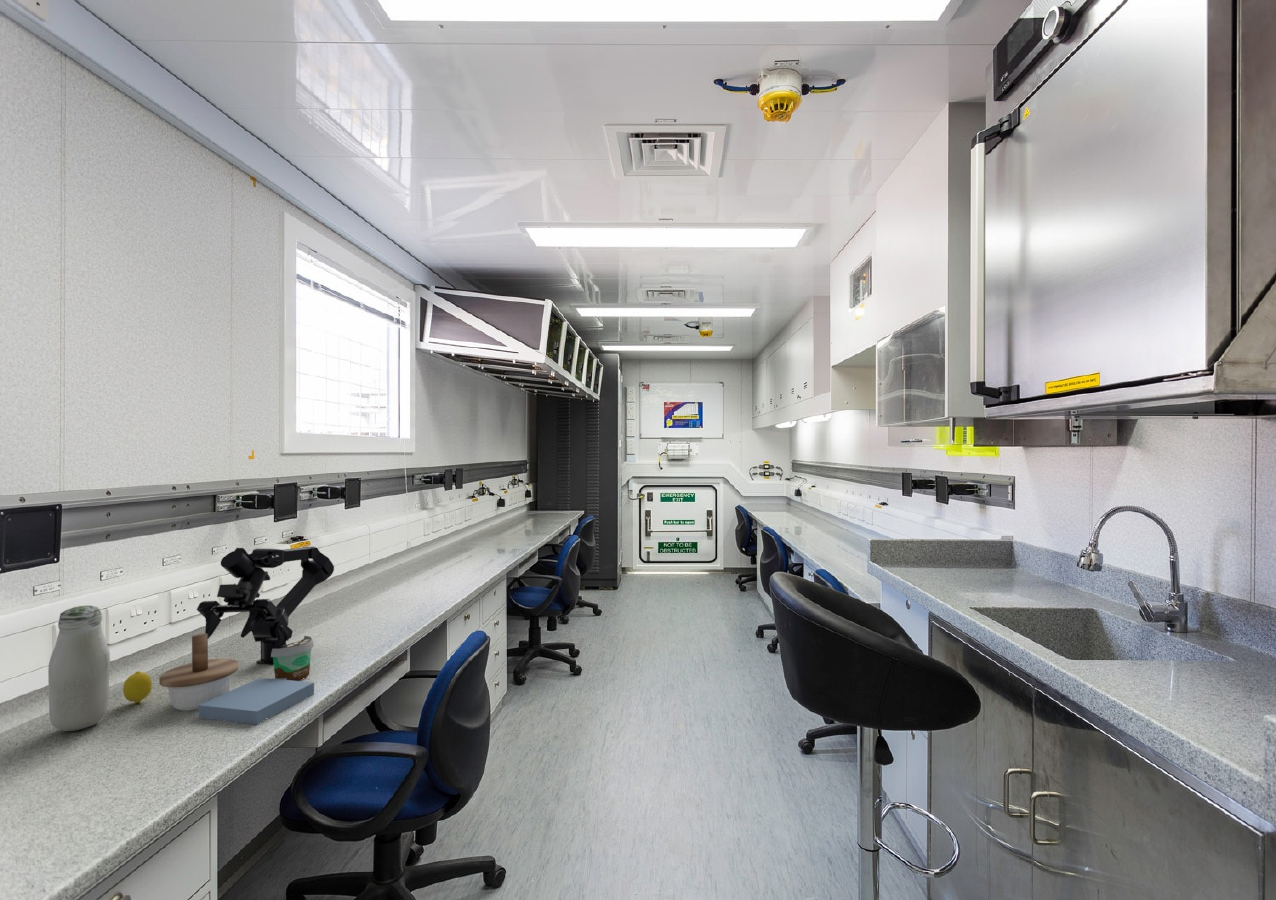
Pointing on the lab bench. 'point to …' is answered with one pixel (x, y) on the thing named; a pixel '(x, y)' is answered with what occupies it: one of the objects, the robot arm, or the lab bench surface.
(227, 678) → the ramekin
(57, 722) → the glass bottle
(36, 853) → the lab bench surface
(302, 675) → the food container
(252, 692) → the mat
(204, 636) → the lid
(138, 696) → the lemon
